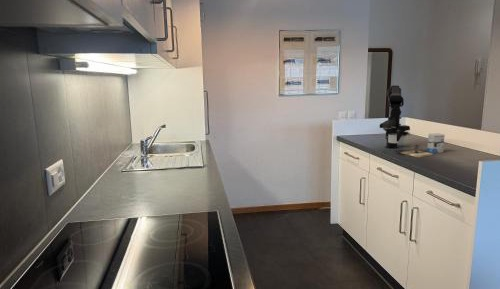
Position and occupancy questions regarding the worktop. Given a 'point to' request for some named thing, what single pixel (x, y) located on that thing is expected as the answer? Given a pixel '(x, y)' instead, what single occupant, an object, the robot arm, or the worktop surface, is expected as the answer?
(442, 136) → the ink box
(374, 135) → the worktop surface
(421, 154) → the shaft block
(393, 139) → the tube
